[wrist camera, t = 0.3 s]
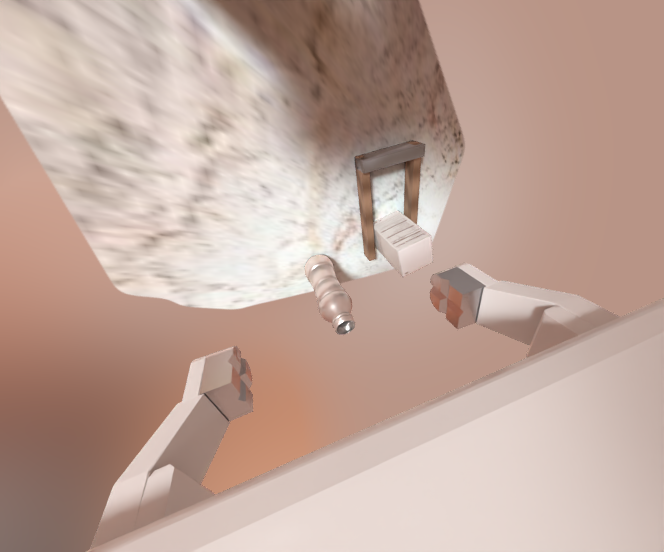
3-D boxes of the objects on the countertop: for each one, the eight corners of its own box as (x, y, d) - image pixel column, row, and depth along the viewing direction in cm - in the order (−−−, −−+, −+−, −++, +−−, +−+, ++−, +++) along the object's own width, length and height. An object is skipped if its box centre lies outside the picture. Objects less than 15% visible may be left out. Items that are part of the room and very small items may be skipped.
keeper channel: (354, 156, 45) (363, 162, 42) (412, 140, 47) (425, 144, 44) (364, 254, 60) (371, 263, 57) (408, 239, 61) (417, 247, 58)
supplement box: (402, 234, 60) (434, 263, 51) (375, 247, 60) (401, 278, 50) (398, 208, 55) (432, 234, 46) (368, 222, 55) (396, 252, 45)
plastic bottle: (334, 257, 58) (370, 318, 43) (319, 278, 60) (347, 343, 45) (312, 246, 54) (343, 309, 39) (296, 269, 56) (319, 337, 42)
